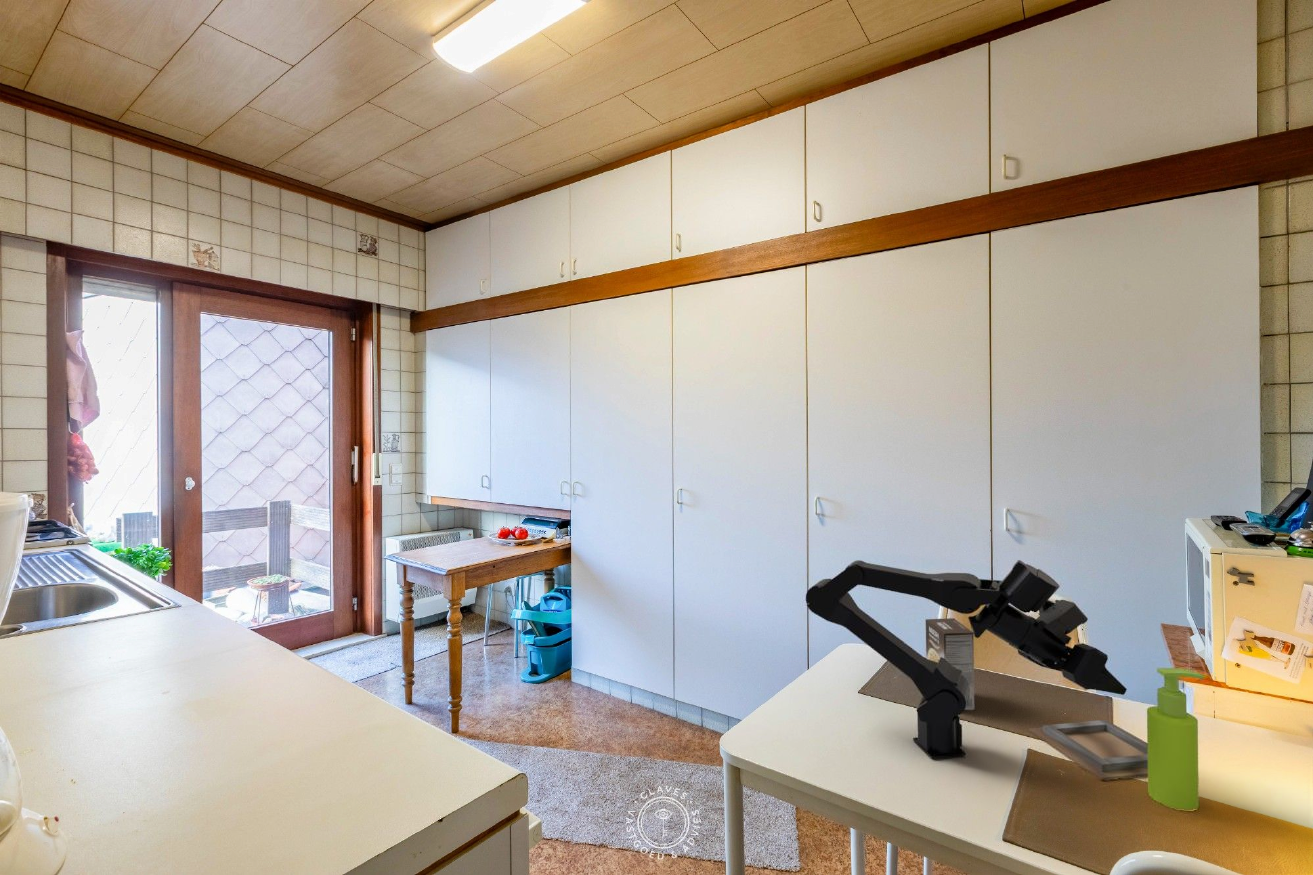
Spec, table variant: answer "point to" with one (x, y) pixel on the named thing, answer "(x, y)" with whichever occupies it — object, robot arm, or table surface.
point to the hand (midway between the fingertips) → (1106, 683)
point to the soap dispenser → (1173, 745)
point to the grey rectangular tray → (1098, 748)
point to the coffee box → (952, 648)
